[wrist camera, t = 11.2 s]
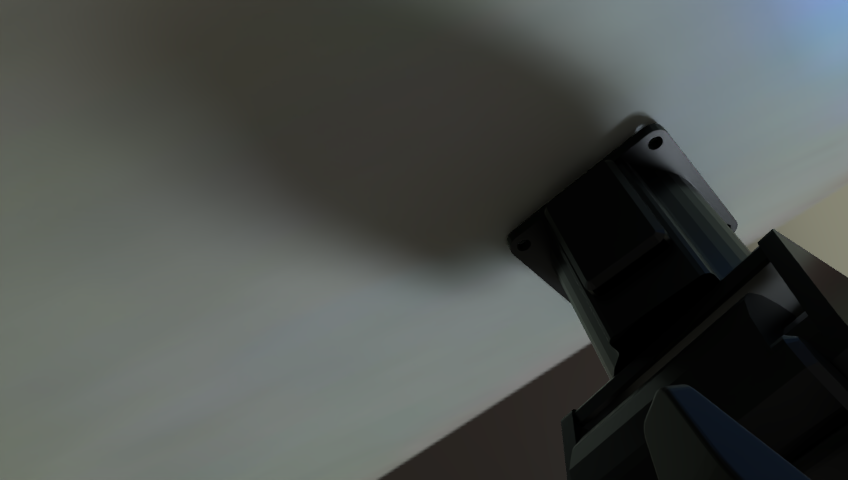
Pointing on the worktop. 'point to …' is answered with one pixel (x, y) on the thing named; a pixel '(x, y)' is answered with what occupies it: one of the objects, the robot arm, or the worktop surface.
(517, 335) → the worktop surface
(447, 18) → the worktop surface
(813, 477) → the robot arm
